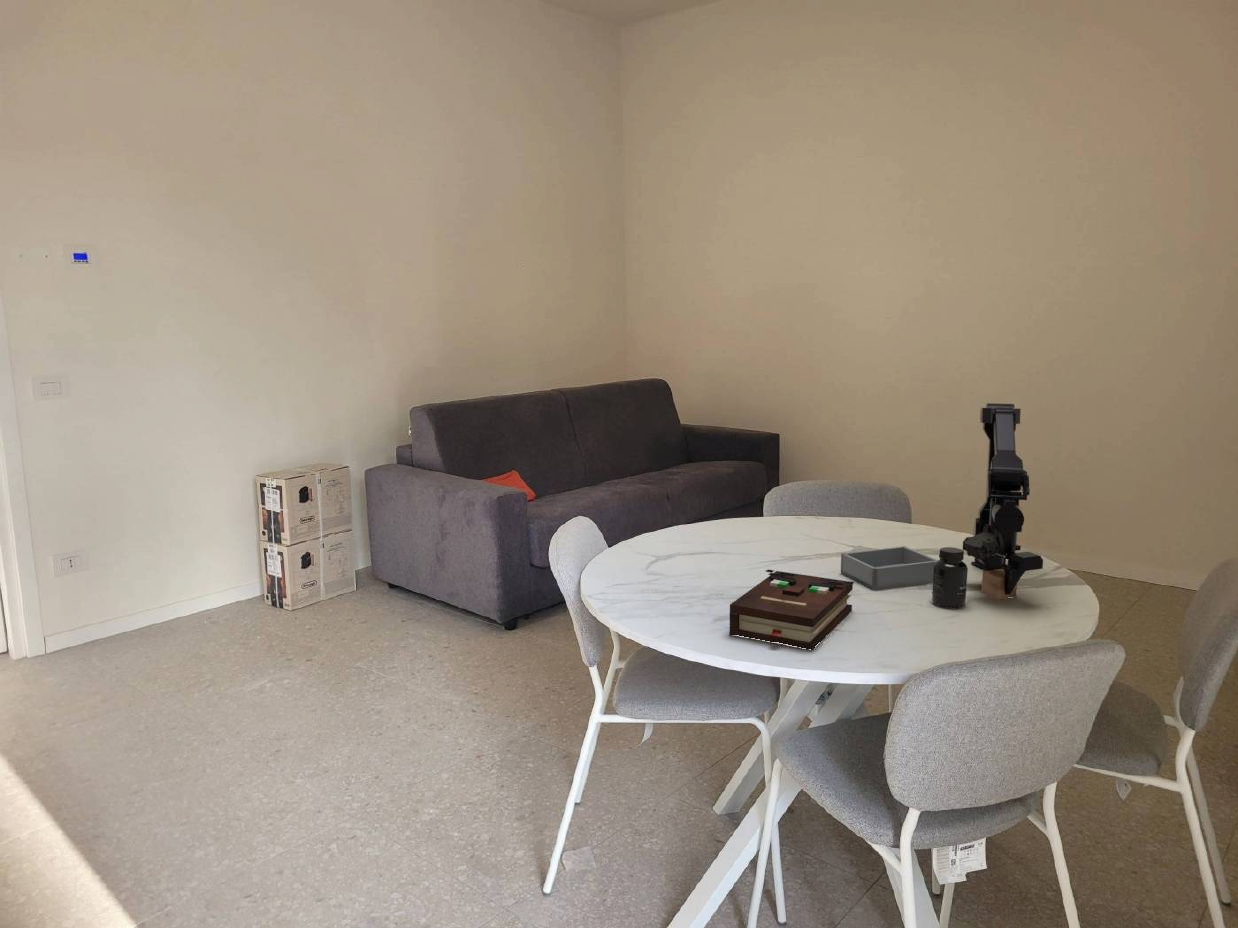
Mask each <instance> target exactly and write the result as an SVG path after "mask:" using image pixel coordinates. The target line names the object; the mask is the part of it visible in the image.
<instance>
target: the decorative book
mask: <svg viewBox="0 0 1238 928" xmlns="http://www.w3.org/2000/svg"><path fill="white" fill-rule="evenodd" d="M764 572H765V573H768V574H767V575H769V576H768V577H766V578H765V579H763V580H762V581H760V582H759V583H758V584H756V585H755V586H753V587H752V588H751V589H749V590H748V591H747V592H745V593H744V594H743V595H741V596H740V597H738V598H737V599H736V600H734V601H732V603H730V604H729V636H730V635H739V636H744V637H749V638H755V639H760V640H765V641H770V642H779V643H783V644H788V645H792V646H797V647H801V648H806V649H811V650H813V649H814V648H815V646H816V645H817V644H818V643H819V642H821V641H822V640H823V639H824V638H825V636H826V635H828V634H829V633H830V632H831V631H832V630H833V629H834V628H835V629H836V627H837V626H838V625H839V624H841V623H842V621H843V620H845V619H846V617H847V616H848V615H849V614H851V613H852V611H853V605H852V604H848V600H849V599H850V598H851V596H852V594H849V593H851V592H852V591H853V589H854V588H853V587H854V586H853V585H854V583H855V581H848V580H842V579H836V578H829V577H821V576H816V575H815V576H814V575H807V574H801V573H794V572H789V571H787V572H786V571H780V570H772V569H768V568H767V569H766V570H764ZM835 629H834V630H835ZM834 630H833V631H834ZM831 633H832V632H831ZM831 633H830V634H831ZM830 634H829V635H830ZM829 635H828V636H829ZM825 639H826V638H825ZM825 639H824V640H825ZM824 640H823V641H824ZM823 641H822V642H823ZM822 642H821V643H822ZM815 649H816V648H815ZM815 649H814V650H815ZM814 650H813V651H814Z"/></svg>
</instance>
